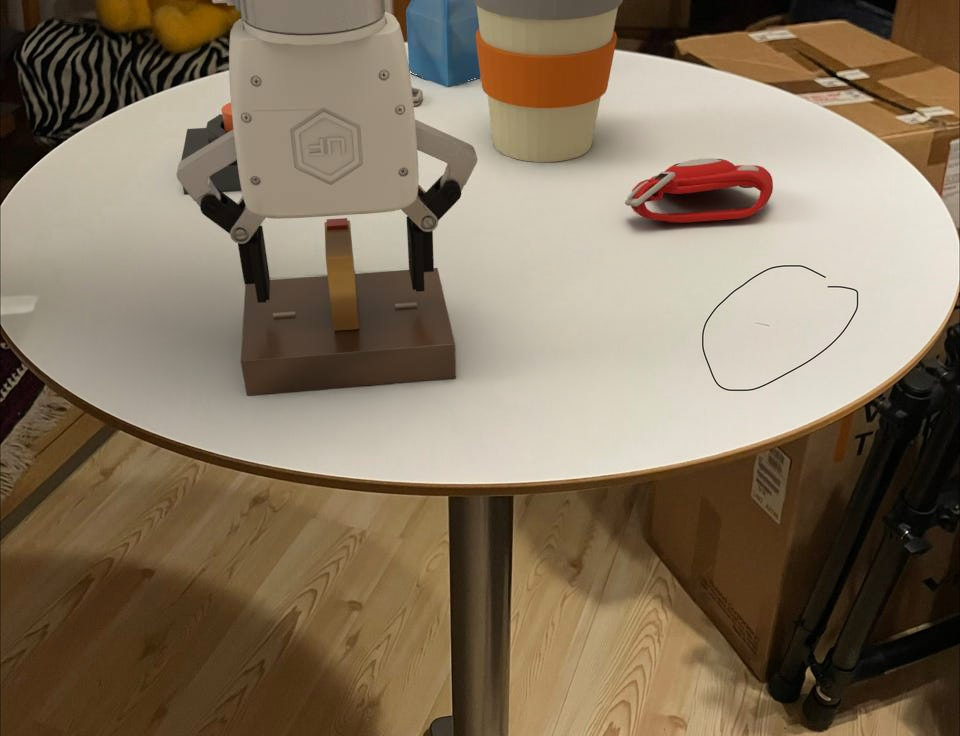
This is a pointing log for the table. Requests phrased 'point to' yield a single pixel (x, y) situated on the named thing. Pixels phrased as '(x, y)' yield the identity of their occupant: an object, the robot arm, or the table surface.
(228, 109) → the bell button
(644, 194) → the tracker holder
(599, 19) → the reusable coffee cup
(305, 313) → the plate
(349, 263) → the thumb turn
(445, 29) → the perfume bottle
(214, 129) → the dark grey button base
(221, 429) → the table surface
